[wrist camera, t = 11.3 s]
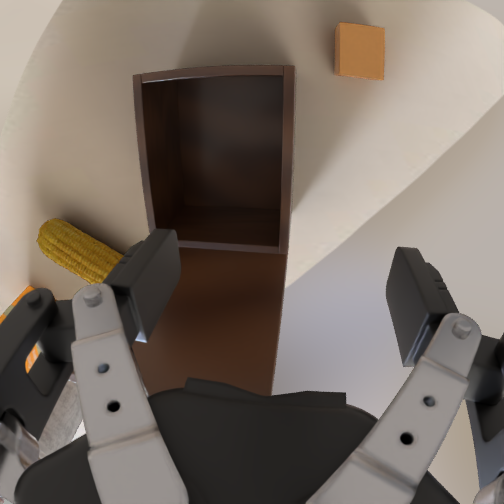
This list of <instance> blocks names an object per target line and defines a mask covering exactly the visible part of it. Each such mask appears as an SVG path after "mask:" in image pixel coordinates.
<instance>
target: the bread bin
mask: <svg viewBox="0 0 504 504" xmlns="http://www.w3.org/2000/svg"><path fill="white" fill-rule="evenodd" d="M133 91H134V106H135V119H136V131H137V141H138V151H139V160H140V169H141V177H142V185H143V192H144V199H145V206H146V213H147V219H148V226H149V232H150V233H151V232H152V231H153V230H154V229H173V230H175V231H176V233H177V239H178V247H188V248H202V249H217V250H231V251H245V252H259V253H274V254H287V255H288V248H289V237H290V225H291V213H292V193H293V171H294V144H295V111H296V68H295V66H287V65H284V66H283V65H231V66H211V67H196V68H185V69H175V70H166V71H158V72H151V73H144V74H137V75H133Z"/></svg>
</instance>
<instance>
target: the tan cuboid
mask: <svg viewBox="0 0 504 504" xmlns="http://www.w3.org/2000/svg"><path fill="white" fill-rule="evenodd" d="M384 54H385V29H384V28H380V27H374V26H368V25H361V24H354V23H346V22H340V23H339V24H338V25H337V27H336V28H335V70H334V75H338V76H347V77H356V78H364V79H371V80H384Z"/></svg>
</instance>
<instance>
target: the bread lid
mask: <svg viewBox="0 0 504 504" xmlns="http://www.w3.org/2000/svg"><path fill="white" fill-rule="evenodd" d="M179 254H180V262H181V276H180V280H179V282H178V284H177V286H176V288H175V290H174V291H173V293H172V295H171V297H170V299H169V301H168V303H167V305H166V307H165V309H164V311H163V312H162V314H161V316H160V318H159V320H158V322H157V324H156V326H155V328H154V330H153V332H152V334H151V336H150V338H149V340H148V342H147V343H146V342H141V341H136V340H135V341H134V343H133V345H132V348H133V351H134V354H135V357H136V360H137V363H138V366H139V368H140V371H141V374H142V377H143V379H144V382H145V385H146V387H147V390H148V392H149V395H153V394H155V393H158V392H161V391H164V390H169V389H174V388H184V386H185V383H186V380H187V377H192V378H198V379H204V380H210V381H217V382H224V383H227V384H230V385H233V386H236V387H239V388H241V389H244V390H247V391H250V392H253V393H256V394H259V395H262V396H272V388H273V381H274V374H275V366H276V358H277V350H278V341H279V333H280V324H281V316H282V307H283V299H284V289H285V280H286V270H287V259H288V255H287V254H274V253H259V252H245V251H231V250H217V249H202V248H188V247H179ZM68 380H69V381H72V382H75V383H76V380H75V373H74V370H73V372H72V374H71V376H70V377H69V379H68Z"/></svg>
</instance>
